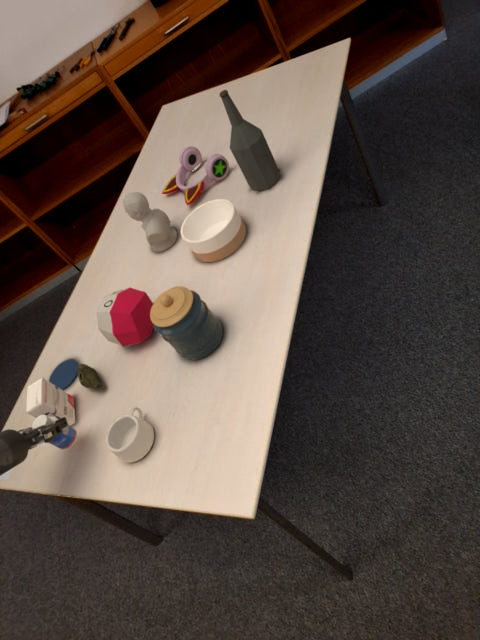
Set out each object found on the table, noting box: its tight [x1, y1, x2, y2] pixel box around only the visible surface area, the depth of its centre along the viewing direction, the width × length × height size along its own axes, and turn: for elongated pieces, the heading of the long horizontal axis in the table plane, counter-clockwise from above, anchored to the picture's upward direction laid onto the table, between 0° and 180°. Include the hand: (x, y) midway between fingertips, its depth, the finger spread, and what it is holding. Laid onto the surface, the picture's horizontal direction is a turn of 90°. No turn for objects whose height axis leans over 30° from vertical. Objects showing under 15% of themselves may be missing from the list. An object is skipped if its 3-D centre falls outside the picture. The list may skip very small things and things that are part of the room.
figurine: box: [122, 191, 178, 253], centre depth 136 cm, size 9×13×20 cm
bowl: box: [180, 198, 247, 263], centre depth 128 cm, size 17×17×8 cm
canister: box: [150, 285, 224, 361], centre depth 104 cm, size 13×13×18 cm
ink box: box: [25, 377, 76, 426], centre depth 112 cm, size 8×5×12 cm, turn 20°
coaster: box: [48, 358, 80, 391], centre depth 125 cm, size 10×10×1 cm
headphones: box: [161, 146, 230, 207], centre depth 152 cm, size 20×10×20 cm
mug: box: [105, 406, 155, 463], centre depth 99 cm, size 12×10×6 cm
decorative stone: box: [77, 363, 104, 390], centre depth 117 cm, size 11×8×5 cm
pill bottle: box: [31, 415, 78, 450], centre depth 102 cm, size 6×5×10 cm
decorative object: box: [96, 287, 154, 347], centre depth 117 cm, size 15×15×15 cm
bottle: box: [219, 89, 280, 192], centre depth 128 cm, size 10×10×30 cm
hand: (55, 423), depth 103 cm, fingers closed on pill bottle, 5 cm apart
